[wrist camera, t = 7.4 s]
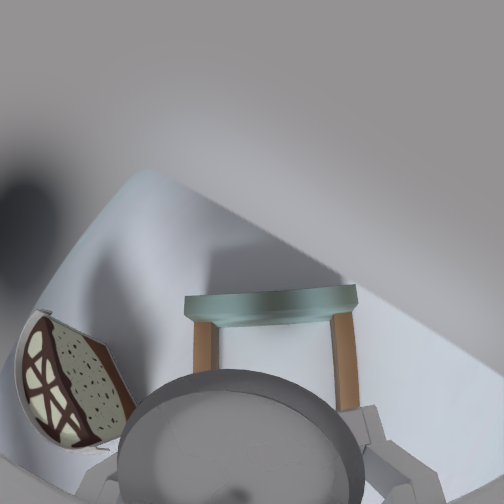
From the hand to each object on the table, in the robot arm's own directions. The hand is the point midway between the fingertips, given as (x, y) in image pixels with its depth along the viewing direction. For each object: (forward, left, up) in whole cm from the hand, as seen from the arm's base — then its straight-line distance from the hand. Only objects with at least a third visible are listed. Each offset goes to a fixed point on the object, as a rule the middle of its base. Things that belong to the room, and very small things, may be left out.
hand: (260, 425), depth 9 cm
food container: (-17, -1, -15) cm, 23 cm away
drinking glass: (0, -1, -6) cm, 6 cm away
